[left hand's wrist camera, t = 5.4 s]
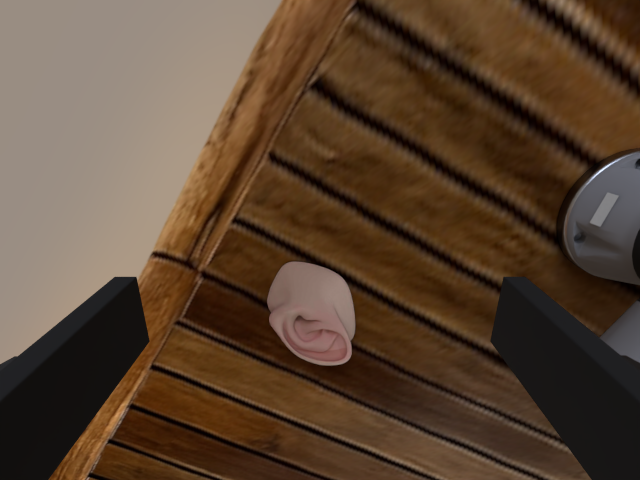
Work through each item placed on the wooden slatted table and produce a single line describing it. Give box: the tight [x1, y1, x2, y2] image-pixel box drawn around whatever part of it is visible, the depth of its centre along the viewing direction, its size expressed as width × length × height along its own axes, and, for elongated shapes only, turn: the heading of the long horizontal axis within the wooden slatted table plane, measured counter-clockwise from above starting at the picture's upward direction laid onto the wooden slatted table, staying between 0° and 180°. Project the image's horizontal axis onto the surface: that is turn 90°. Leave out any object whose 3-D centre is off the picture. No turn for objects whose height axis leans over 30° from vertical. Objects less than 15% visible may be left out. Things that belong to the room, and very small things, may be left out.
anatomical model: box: [267, 262, 355, 365], centre depth 44 cm, size 13×4×12 cm
